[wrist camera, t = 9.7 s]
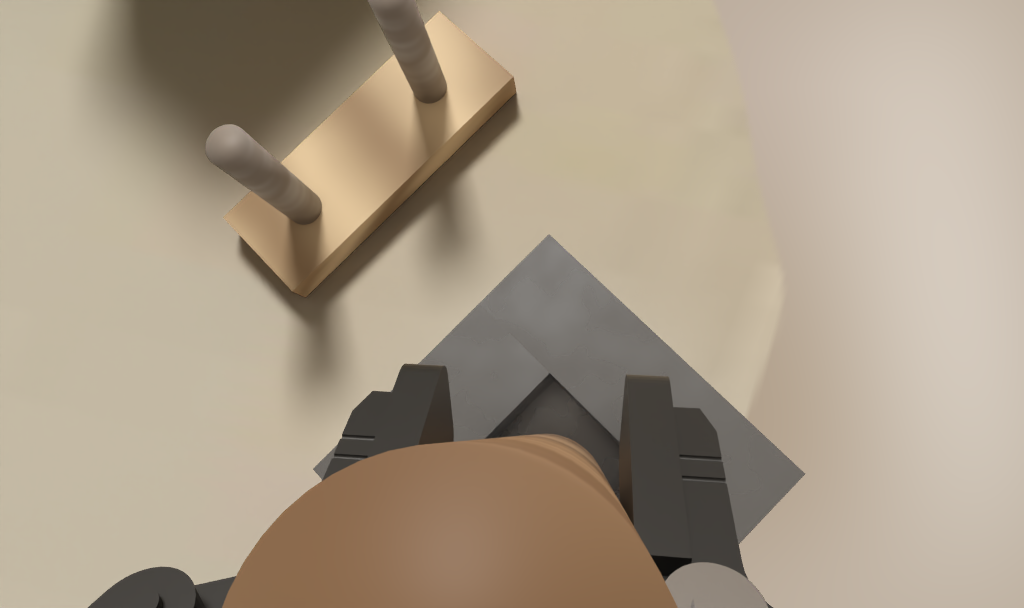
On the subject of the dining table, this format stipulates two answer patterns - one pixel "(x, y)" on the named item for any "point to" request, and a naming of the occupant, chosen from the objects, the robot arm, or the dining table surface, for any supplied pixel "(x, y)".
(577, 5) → the dining table surface
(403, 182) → the peg rack
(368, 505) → the walnut pin
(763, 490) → the block
